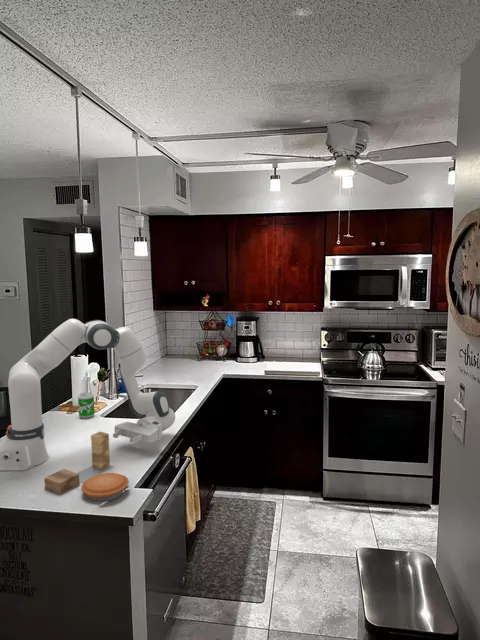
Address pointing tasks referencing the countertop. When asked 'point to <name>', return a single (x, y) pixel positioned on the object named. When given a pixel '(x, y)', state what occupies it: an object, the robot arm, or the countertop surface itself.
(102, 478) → the pie
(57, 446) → the countertop surface
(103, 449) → the oak post
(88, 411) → the soda can
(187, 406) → the countertop surface
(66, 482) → the walnut plinth
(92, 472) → the slate board
